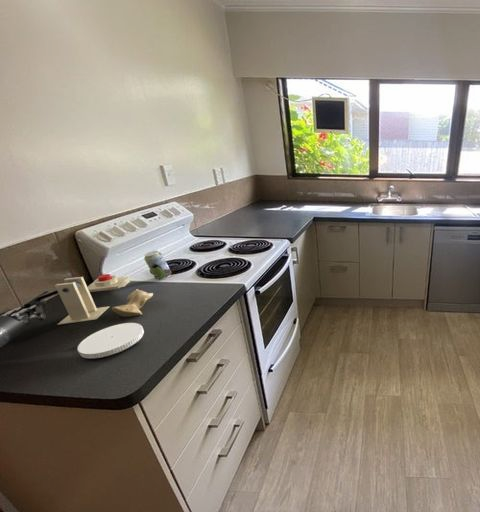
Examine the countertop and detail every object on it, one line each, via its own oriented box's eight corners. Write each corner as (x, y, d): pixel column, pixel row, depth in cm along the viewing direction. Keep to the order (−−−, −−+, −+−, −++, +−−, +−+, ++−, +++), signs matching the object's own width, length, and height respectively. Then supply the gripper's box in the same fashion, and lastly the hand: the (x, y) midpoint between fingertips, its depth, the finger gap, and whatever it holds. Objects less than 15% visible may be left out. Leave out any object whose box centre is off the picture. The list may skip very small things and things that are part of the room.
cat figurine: (107, 307, 90) (130, 281, 100) (111, 321, 94) (133, 295, 104) (137, 311, 92) (157, 285, 102) (141, 325, 96) (159, 299, 106)
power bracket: (58, 327, 90) (39, 289, 85) (75, 313, 98) (57, 277, 92) (97, 322, 93) (81, 284, 88) (110, 309, 100) (96, 273, 95)
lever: (27, 309, 86) (20, 303, 85) (47, 296, 93) (41, 291, 92) (70, 293, 88) (64, 286, 87) (86, 281, 95) (81, 275, 94)
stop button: (97, 282, 111) (95, 278, 110) (102, 278, 114) (100, 274, 114) (108, 281, 112) (107, 277, 111) (113, 277, 115) (111, 273, 115)
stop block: (84, 295, 109) (80, 286, 108) (98, 284, 117) (94, 276, 115) (119, 291, 112) (116, 282, 111) (130, 281, 120) (127, 272, 119)
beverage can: (174, 277, 124) (166, 251, 119) (153, 283, 118) (144, 256, 114) (170, 273, 127) (162, 248, 123) (150, 278, 122) (141, 252, 118)
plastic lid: (93, 368, 74) (89, 360, 73) (72, 350, 81) (68, 343, 80) (154, 338, 86) (151, 331, 85) (132, 324, 92) (129, 318, 91)
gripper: (16, 319, 75) (61, 289, 90) (-58, 329, 71) (3, 296, 86) (29, 343, 78) (71, 309, 93) (-41, 353, 74) (15, 317, 89)
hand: (38, 303), depth 89 cm, fingers closed
